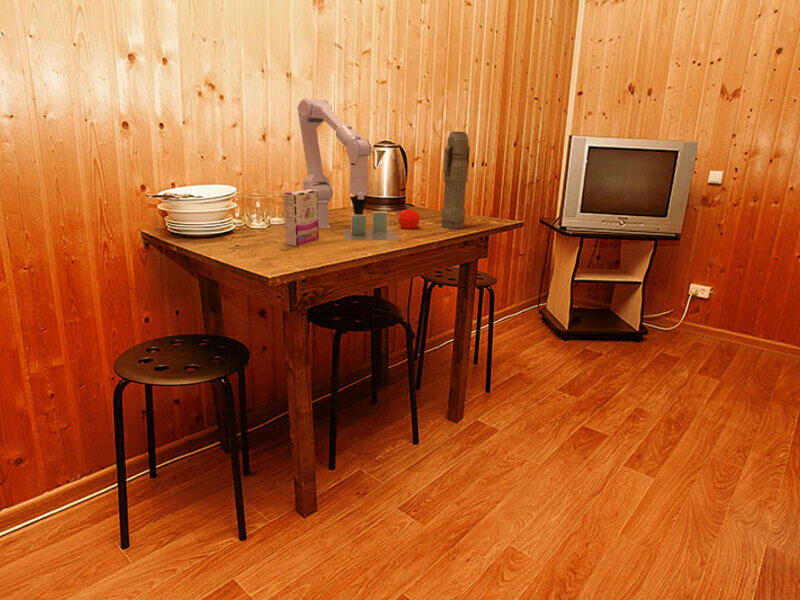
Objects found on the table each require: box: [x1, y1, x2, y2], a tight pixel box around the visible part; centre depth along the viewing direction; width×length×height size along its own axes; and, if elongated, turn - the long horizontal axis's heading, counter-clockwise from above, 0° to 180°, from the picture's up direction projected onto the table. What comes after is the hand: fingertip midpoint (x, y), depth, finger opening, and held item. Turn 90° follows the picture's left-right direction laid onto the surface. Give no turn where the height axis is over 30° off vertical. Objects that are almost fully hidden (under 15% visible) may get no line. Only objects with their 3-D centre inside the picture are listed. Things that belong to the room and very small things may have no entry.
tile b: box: [371, 211, 388, 232], centre depth 190 cm, size 5×2×7 cm, turn 100°
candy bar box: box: [283, 189, 320, 248], centre depth 170 cm, size 11×5×16 cm, turn 151°
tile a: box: [350, 213, 368, 235], centre depth 183 cm, size 5×2×7 cm, turn 100°
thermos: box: [440, 131, 471, 230], centre depth 202 cm, size 9×12×35 cm
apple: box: [398, 209, 421, 230], centre depth 198 cm, size 8×8×7 cm
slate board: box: [341, 229, 401, 241], centre depth 185 cm, size 18×18×1 cm
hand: (358, 217), depth 183 cm, fingers closed
